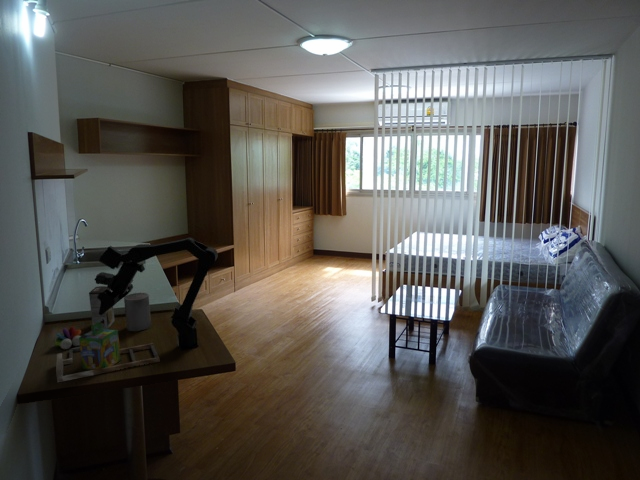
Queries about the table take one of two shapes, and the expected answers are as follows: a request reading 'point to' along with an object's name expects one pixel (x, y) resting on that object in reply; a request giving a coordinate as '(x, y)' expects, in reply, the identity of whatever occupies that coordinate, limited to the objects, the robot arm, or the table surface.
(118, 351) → the chalk box
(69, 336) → the rainbow disc cluster
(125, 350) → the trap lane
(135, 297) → the pillar candle
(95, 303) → the coffee box
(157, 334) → the table surface
